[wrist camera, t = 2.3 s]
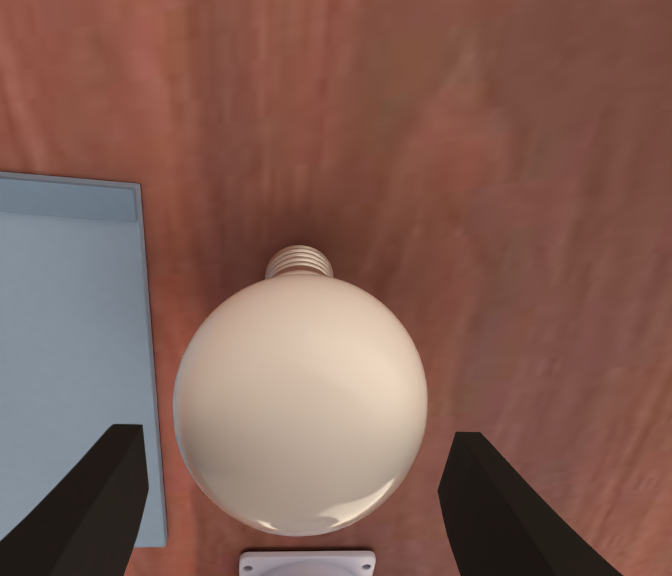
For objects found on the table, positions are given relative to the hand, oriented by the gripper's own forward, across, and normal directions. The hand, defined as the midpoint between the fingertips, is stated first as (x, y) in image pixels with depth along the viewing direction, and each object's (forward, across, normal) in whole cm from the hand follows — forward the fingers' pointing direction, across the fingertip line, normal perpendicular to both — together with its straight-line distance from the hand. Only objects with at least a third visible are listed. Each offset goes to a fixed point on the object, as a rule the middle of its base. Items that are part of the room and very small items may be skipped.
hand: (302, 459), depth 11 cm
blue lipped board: (+9, +12, +6) cm, 17 cm away
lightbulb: (+10, 0, 0) cm, 10 cm away
